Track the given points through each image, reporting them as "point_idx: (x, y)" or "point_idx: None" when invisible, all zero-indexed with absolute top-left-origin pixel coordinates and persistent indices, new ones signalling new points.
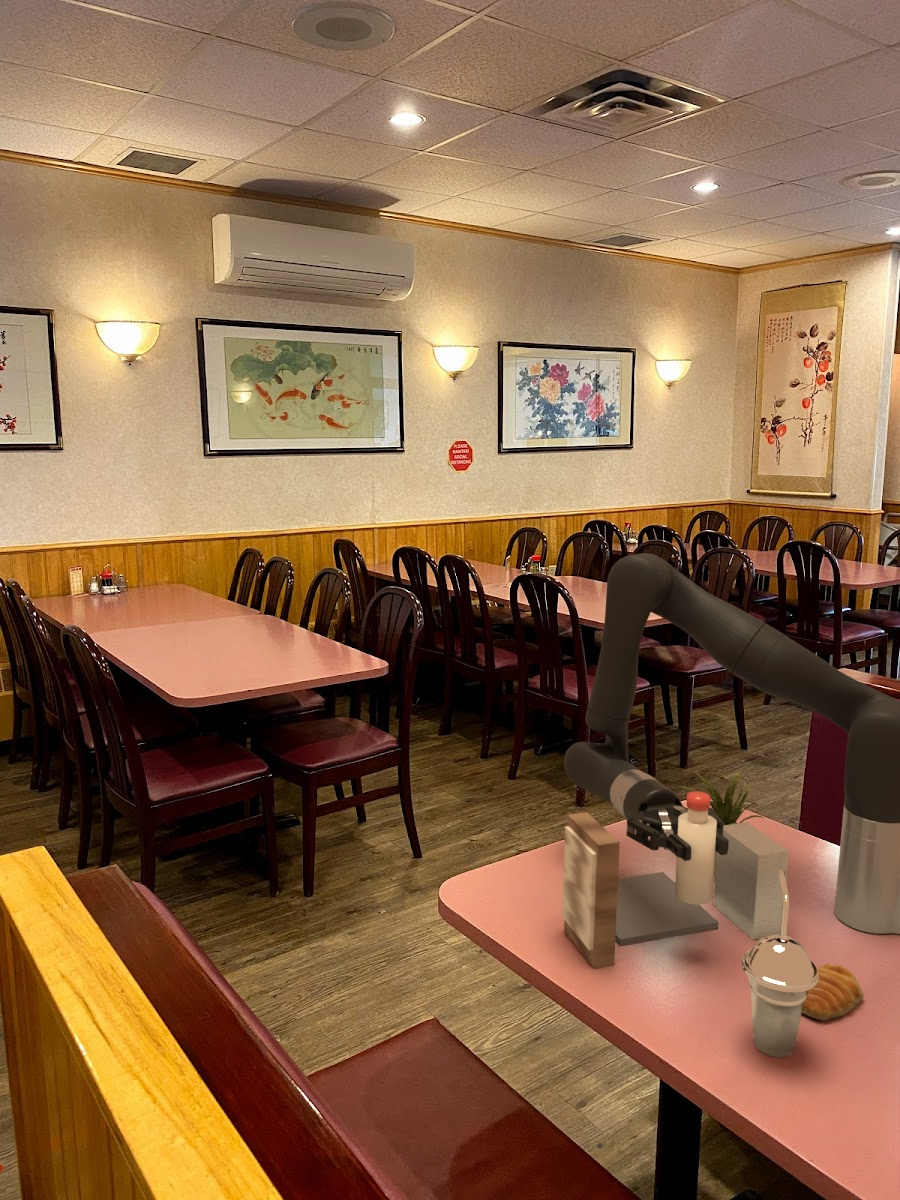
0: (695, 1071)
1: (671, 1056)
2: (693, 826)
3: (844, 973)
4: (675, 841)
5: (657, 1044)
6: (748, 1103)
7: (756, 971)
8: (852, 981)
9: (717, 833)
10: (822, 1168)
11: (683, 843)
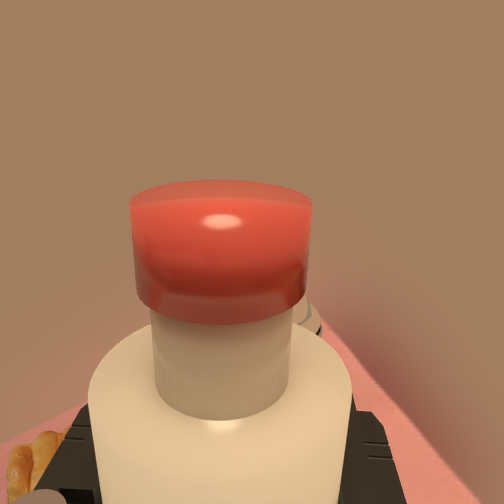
0: (402, 429)
1: (432, 461)
2: (299, 331)
3: (27, 451)
4: (373, 474)
5: (451, 490)
6: (354, 378)
7: (312, 312)
8: (39, 436)
9: (92, 436)
10: (324, 323)
11: (350, 411)
